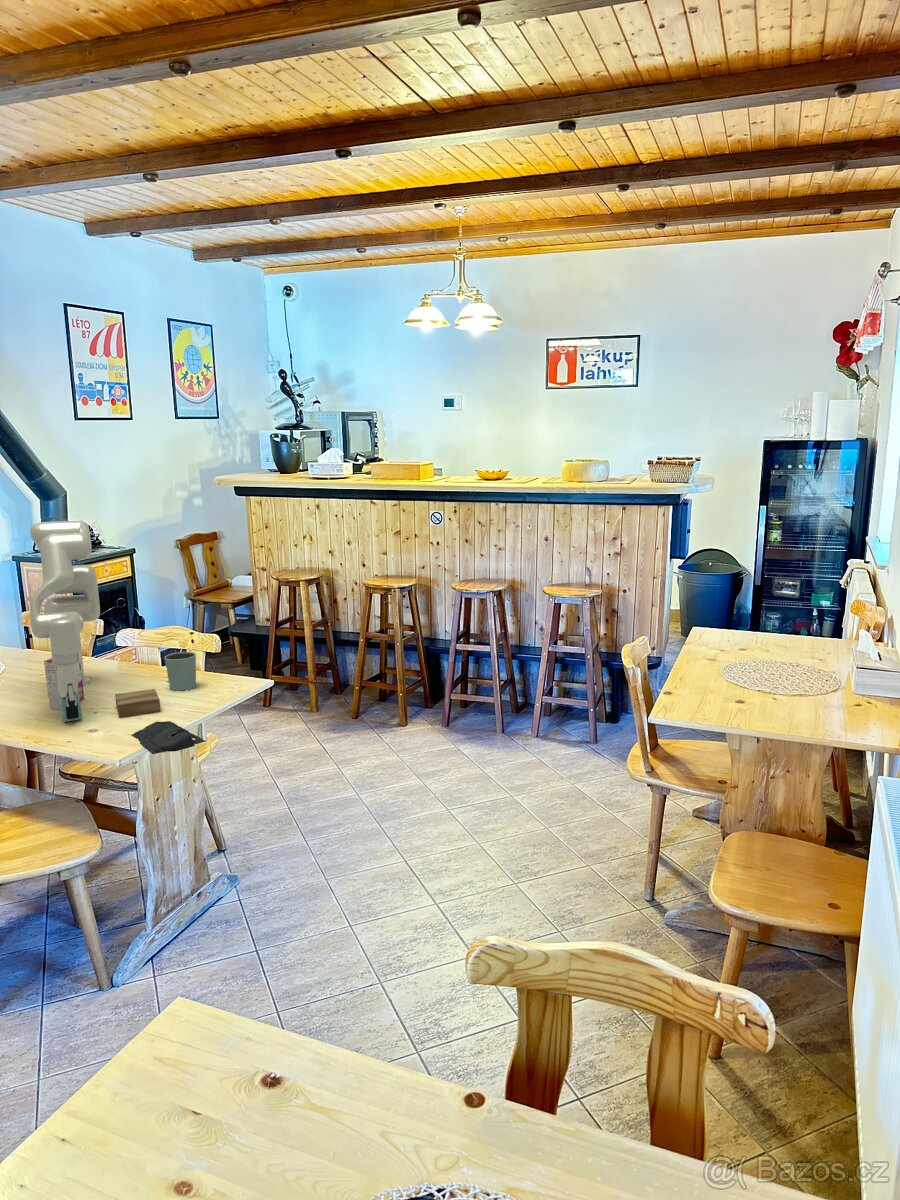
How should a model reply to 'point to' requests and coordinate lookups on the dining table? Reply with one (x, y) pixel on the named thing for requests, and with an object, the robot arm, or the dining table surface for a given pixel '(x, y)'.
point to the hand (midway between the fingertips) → (71, 714)
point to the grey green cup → (181, 670)
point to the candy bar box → (53, 684)
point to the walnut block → (137, 703)
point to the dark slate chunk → (165, 737)
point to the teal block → (63, 706)
